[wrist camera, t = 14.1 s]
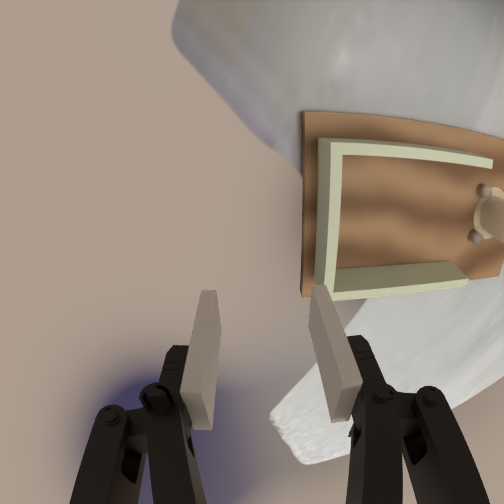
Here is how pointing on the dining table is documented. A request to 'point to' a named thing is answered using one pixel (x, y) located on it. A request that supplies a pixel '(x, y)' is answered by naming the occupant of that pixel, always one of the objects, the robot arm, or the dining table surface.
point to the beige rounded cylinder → (493, 217)
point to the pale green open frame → (328, 218)
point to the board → (403, 197)
